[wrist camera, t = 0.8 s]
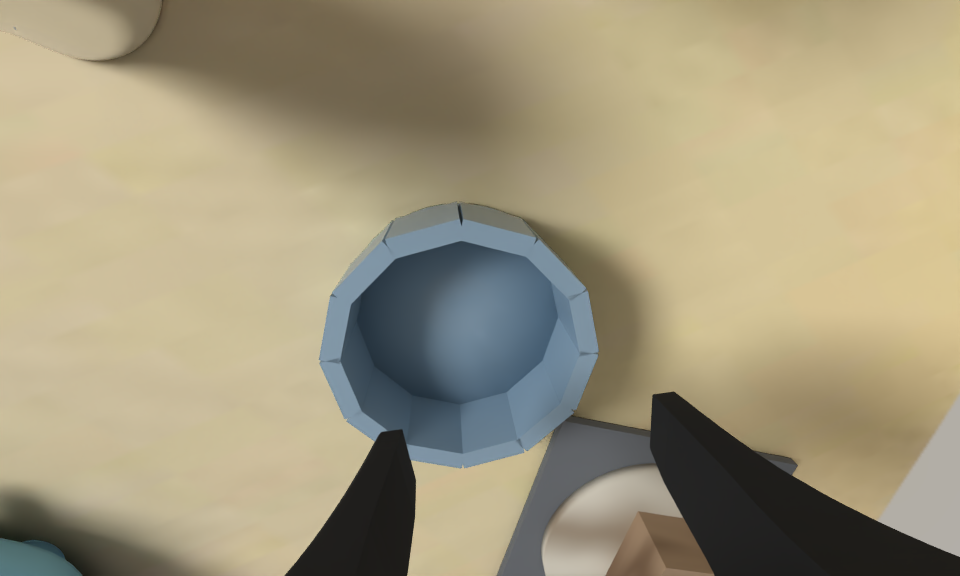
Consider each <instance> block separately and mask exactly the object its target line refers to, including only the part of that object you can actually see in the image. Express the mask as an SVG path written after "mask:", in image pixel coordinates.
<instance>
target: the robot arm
mask: <svg viewBox="0 0 960 576" xmlns="http://www.w3.org/2000/svg"><path fill="white" fill-rule="evenodd" d="M650 450H651V452H652V455H653V457H654V460H655V462H656V465H657V467H658V470H659V472H660V475H661V477H662V479H663V482H664V484H665V485H666V487H667V489H668V491H669V493H670V495H671V497H672V498H673V500H674V502H675V504H676V506H677V507H678V509H679V511H680V513H681V515H682V516H683V518H684V520H685V522H686V524H687V525H688V527H689V529H690V531H691V533H692V534H693V536H694V538H695V540H696V542H697V543H698V545H699V547H700V549H701V551H702V552H703V554H704V556H705V558H706V560H707V561H708V563H709V565H710V567H711V569H712V571H713V573H714V575H715V576H960V557H958V556H956V555H953V554H951V553H948V552H945V551H943V550H941V549H938V548H936V547H934V546H931V545H929V544H927V543H924V542H922V541H920V540H917V539H915V538H913V537H911V536H908V535H906V534H904V533H901V532H899V531H897V530H895V529H893V528H891V527H888V526H886V525H884V524H882V523H880V522H878V521H876V520H874V519H872V518H870V517H868V516H866V515H864V514H862V513H860V512H858V511H856V510H854V509H852V508H850V507H848V506H846V505H844V504H842V503H840V502H838V501H836V500H834V499H832V498H830V497H829V496H827V495H825V494H823V493H821V492H819V491H818V490H816V489H814V488H813V487H811V486H809V485H807V484H806V483H804V482H802V481H800V480H799V479H797V478H795V477H793V476H792V475H790V474H789V473H787V472H785V471H784V470H782V469H780V468H779V467H777V466H776V465H774V464H773V463H771V462H770V461H768V460H767V459H765V458H764V457H762V456H760V455H759V454H757V453H756V452H754V451H753V450H752V449H750V448H749V447H747V446H746V445H744V444H743V443H741V442H740V441H739V440H737V439H736V438H735V437H733V436H732V435H730V434H729V433H728V432H726V431H725V430H723V429H722V428H721V427H719V426H718V425H717V424H715V423H714V422H713V421H712V420H710V419H709V418H708V417H706V416H705V415H704V414H702V413H701V412H700V411H698V410H697V409H696V408H695V407H693V406H692V405H691V404H689V403H688V402H687V401H686V400H684V399H683V398H682V397H680V396H679V395H678V394H676V393H675V392H668V393H661V394H653V398H652V416H651V434H650ZM415 500H416V479H415V475H414V471H413V467H412V464H411V460H410V456H409V452H408V449H407V445H406V441H405V437H404V434H403V430H402V429H399V430H391V431H384V432H381V433H380V434H379V435H378V437H377V439H376V441H375V443H374V444H373V446H372V448H371V450H370V452H369V454H368V455H367V457H366V459H365V461H364V463H363V464H362V466H361V468H360V470H359V471H358V473H357V475H356V476H355V478H354V480H353V481H352V483H351V485H350V486H349V488H348V490H347V491H346V493H345V494H344V496H343V498H342V499H341V501H340V502H339V504H338V505H337V507H336V508H335V510H334V511H333V513H332V514H331V516H330V517H329V519H328V520H327V521H326V523H325V524H324V526H323V527H322V529H321V530H320V531H319V533H318V534H317V536H316V537H315V538H314V540H313V541H312V542H311V544H310V545H309V546H308V548H307V549H306V550H305V551H304V553H303V554H302V555H301V556H300V558H299V559H298V560H297V562H296V563H295V564H294V565H293V566H292V568H291V569H290V570H289V571H288V572H287V573H286V575H285V576H407V573H408V566H409V558H410V551H411V543H412V536H413V528H414V520H415Z"/></svg>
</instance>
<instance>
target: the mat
mask: <svg viewBox="0 0 960 576" xmlns="http://www.w3.org/2000/svg"><path fill="white" fill-rule="evenodd" d="M650 434H651V431H647V430H641V429H636V428H631V427H626V426H621V425H615V424H610V423H605V422H600V421H594V420H589V419H584V418H579V417H574V416H569V417H568V418H567V419H566V420H565V421H563V422H562V423H561V424H560V425H558V426H557V427H556V428H555V430H554V433H553V435H552V438H551V440H550V443H549V445H548V448H547V450H546V453H545V455H544V458H543V460H542V463H541V466H540V468H539V471H538V473H537V476H536V478H535V481H534V483H533V486H532V488H531V491H530V493H529V496H528V498H527V501H526V503H525V506H524V508H523V511H522V513H521V516H520V519H519V521H518V524H517V526H516V529H515V531H514V534H513V536H512V539H511V541H510V544H509V546H508V549H507V551H506V554H505V556H504V559H503V561H502V564H501V566H500V569H499V571H498V574H497V576H546V575H545V571H544V566H543V561H542V556H541V545H542V538H543V535H544V532H545V529H546V526H547V524H548V522H549V520H550V518H551V517H552V515H553V514H554V512H555V511H556V510H557V508H558V507H559V506H560V505H561V504H562V503H563V502H564V500H565V499H566V498H568V497H569V496H570V495H571V494H572V493H573V492H574V491H576V490H577V489H579V488H580V487H581V486H583V485H584V484H586V483H587V482H589V481H591V480H593V479H595V478H597V477H599V476H601V475H603V474H606V473H608V472H610V471H613V470H617V469H620V468H623V467H628V466H632V465H638V464H648V463H656V462H655V460H654V457H653V455H652V452H651V450H650ZM754 452H756V451H754ZM756 453H757V454H759V455H760V456H762V457H764V458H765V459H767V460H768V461H770V462H771V463H773V464H774V465H776V466H777V467H779V468H780V469H782V470H784V471H785V472H787V473H789V474H790V475H792V474H793V472H794V471H795V469H796V467H797V466H798V465H797V464H796V463H795V462H794V461H793V460H792V459H791V458H787V457H782V456H777V455H771V454H766V453H761V452H756Z"/></svg>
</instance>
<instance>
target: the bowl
mask: <svg viewBox="0 0 960 576" xmlns="http://www.w3.org/2000/svg"><path fill="white" fill-rule="evenodd" d="M597 352H599V349H598V344H597V338H596V333H595V327H594V322H593V316H592V311H591V305H590V300H589V294H588V291H587V290H586V287H585V286H584V285H583V284H582V282H581V281H580V280H579V279H578V278H577V277H576V275H575V274H574V273H573V272H572V271H571V270H570V268H569V267H568V266H567V265H566V264H565V262H564V261H563V260H562V259H561V258H560V257H559V256H558V255H557V254H556V253H555V252H554V251H553V250H552V249H551V248H550V247H549V246H548V245H547V244H546V243H545V241H544V240H543V239H542V238H541V237H540V236H539V235H538V234H537V233H536V232H535V231H534V230H533V229H532V228H531V227H530V226H529V225H528V224H527V223H526V222H525V221H524V220H522V219H521V218H520V217H516V216H513V215H509V214H507V213H505V212H502V211H499V210H496V209H493V208H490V207H486V206H481V205H476V204H467V203H463V202H460V203H457V202H453V203H450V204H441V205H436V206H431V207H426V208H423V209H420V210H417V211H415V212H412V213H410V214H408V215H406V216H402V217H399V218H395V220H394V221H393V220H392V221H391V222H390V223H389V224H388V225H387V226H386V227H385V229H384V230H382V231H381V232H380V233H379V234H378V235H377V236H376V237H375V238H374V239H373V240H372V241H371V242H370V244H369V245H368V246H367V247H366V248H365V249H364V250H363V252H362V253H361V254H360V255H359V256H358V257H357V258H356V259H355V260H354V261H353V262H352V263H351V264H350V266H349V267H348V269H347V271H346V272H345V274H344V275H343V277H342V278H341V280H340V281H339V283H338V284H337V286H336V287H335V289H334V290H333V292H332V294H331V296H330V300H329V306H328V312H327V317H326V323H325V329H324V334H323V340H322V346H321V351H320V357H319V360H321V361H320V366H321V368H322V370H323V372H324V374H325V377H326V379H327V381H328V383H329V386H330V388H331V390H332V392H333V394H334V397H335V399H336V401H337V403H338V406H339V408H340V410H341V412H342V414H343V417H344V419H347V418H348V419H347V422H348V423H349V424H351V425H352V426H354V427H355V428H357V429H358V430H359V431H361V432H362V433H364V434H365V435H366V436H368V437H369V438H371V439H372V440H373V441H376V439H377V437H378V435H379V434H380V433H381V432H384V431H391V430H399V429H402V430H403V434H404V437H405V441H406V445H407V449H408V452H409V456H410V460H413V461H419V462H425V463H431V464H437V465H444V466H450V467H456V468H462V465H463V466H464V468H467V467H471V466H475V465H479V464H483V463H487V462H490V461H494V460H498V459H502V458H506V457H510V456H513V455H517V454H521V453H524V449H525V450H526V451H528V450H529V449H531V448H532V447H533V446H534V445H535V444H537V443H538V442H539V441H540V440H541V439H543V438H544V437H545V436H546V435H548V434H549V433H550V432H551V431H552V430H554V429H555V428H556V427H557V426H558V425H560V424H561V423H562V422H563V421H565V420H566V419H567V418H568V417H569V416H571V415H572V414H573V413H574V411H573V410H576V409H577V407H578V404H579V402H580V399H581V397H582V394H583V392H584V389H585V387H586V384H587V382H588V380H589V377H590V375H591V372H592V370H593V367H594V365H595V362H596V360H597V358H598V353H597Z"/></svg>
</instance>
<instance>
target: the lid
mask: <svg viewBox="0 0 960 576" xmlns="http://www.w3.org/2000/svg"><path fill="white" fill-rule="evenodd" d="M541 556H542V561H543V566H544V571H545V575H546V576H715V575H714V573H713V571H712V569H711V567H710V565H709V563H708V561H707V560H706V558H705V556H704V554H703V552H702V551H701V549H700V547H699V545H698V543H697V542H696V540H695V538H694V536H693V534H692V533H691V531H690V529H689V527H688V525H687V524H686V522H685V520H684V518H683V516H682V515H681V513H680V511H679V509H678V507H677V506H676V504H675V502H674V500H673V498H672V497H671V495H670V493H669V491H668V489H667V487H666V485H665V484H664V482H663V479H662V477H661V475H660V472H659V470H658V467H657V465H656V463H648V464H638V465H632V466H628V467H623V468H620V469H617V470H613V471H610V472H608V473H606V474H603V475H601V476H599V477H597V478H595V479H593V480H591V481H589V482H587V483H586V484H584V485H583V486H581V487H580V488H579V489H577V490H576V491H574V492H573V493H572V494H571V495H570V496H569V497H568V498H566V499H565V500H564V502H563V503H562V504H561V505H560V506H559V507H558V508H557V510H556V511H555V512H554V514H553V515H552V517H551V518H550V520H549V522H548V524H547V526H546V529H545V532H544V535H543V538H542V545H541Z"/></svg>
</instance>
